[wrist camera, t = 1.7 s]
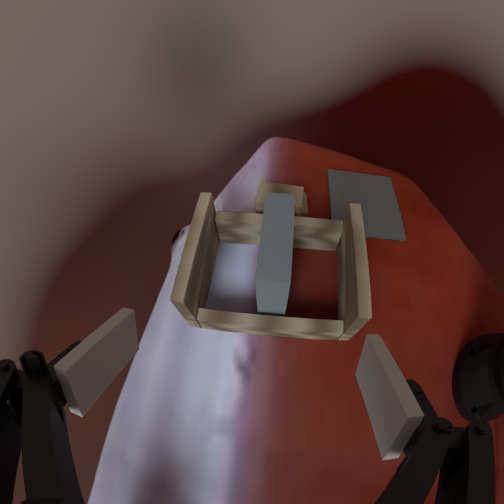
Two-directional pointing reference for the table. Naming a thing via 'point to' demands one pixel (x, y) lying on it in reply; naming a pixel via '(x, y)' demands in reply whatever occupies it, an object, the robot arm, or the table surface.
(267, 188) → the offcut
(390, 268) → the table surface
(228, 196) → the table surface
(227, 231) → the rack
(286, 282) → the grey rectangular block
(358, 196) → the mat
